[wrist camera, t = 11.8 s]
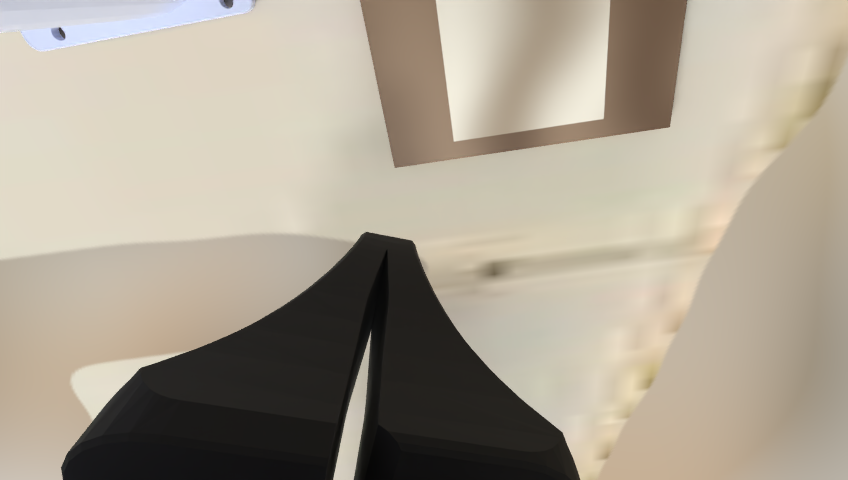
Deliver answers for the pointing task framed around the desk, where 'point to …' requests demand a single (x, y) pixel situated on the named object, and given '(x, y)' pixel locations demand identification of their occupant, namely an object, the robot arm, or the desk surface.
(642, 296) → the desk surface
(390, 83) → the game board
